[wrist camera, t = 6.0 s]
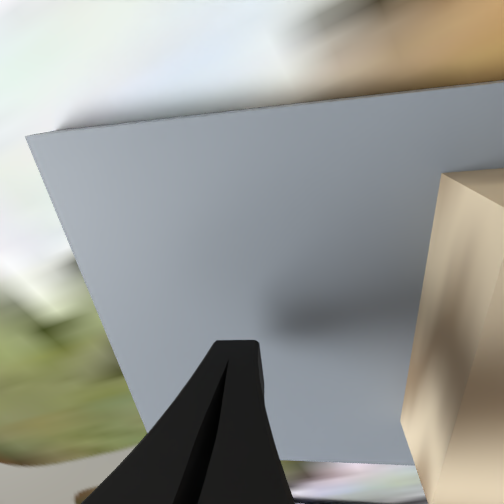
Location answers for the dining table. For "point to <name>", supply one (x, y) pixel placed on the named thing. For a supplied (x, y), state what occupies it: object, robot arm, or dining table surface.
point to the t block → (460, 346)
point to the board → (273, 248)
